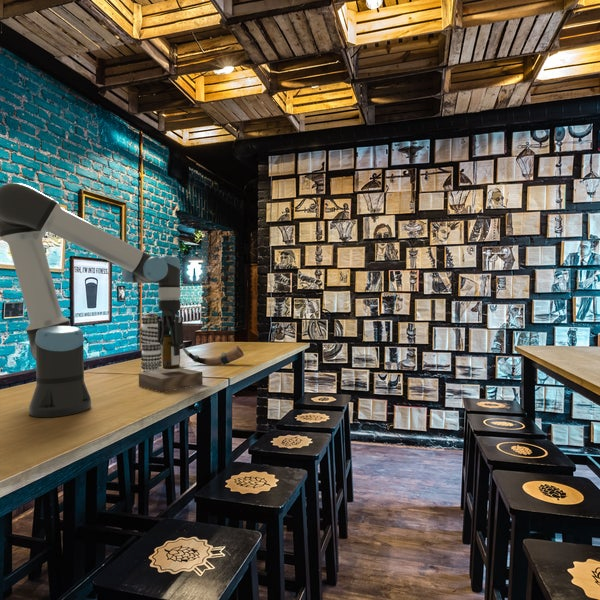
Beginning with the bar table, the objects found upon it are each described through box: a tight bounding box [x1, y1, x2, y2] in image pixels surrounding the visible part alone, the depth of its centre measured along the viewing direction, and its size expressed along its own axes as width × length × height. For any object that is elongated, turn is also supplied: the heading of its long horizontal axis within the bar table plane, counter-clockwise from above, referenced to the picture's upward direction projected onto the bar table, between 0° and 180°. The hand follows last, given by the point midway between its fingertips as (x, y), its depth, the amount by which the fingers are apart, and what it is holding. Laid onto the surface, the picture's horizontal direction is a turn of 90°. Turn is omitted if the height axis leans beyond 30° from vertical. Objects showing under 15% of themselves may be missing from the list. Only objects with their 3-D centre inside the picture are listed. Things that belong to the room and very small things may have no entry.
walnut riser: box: [138, 368, 204, 393], centre depth 149 cm, size 16×16×5 cm
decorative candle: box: [139, 312, 163, 373], centre depth 182 cm, size 9×9×25 cm
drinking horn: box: [180, 343, 245, 366], centre depth 194 cm, size 6×30×10 cm, turn 90°
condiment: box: [159, 333, 187, 370], centre depth 149 cm, size 7×8×12 cm
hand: (170, 363), depth 149 cm, fingers closed on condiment, 6 cm apart
